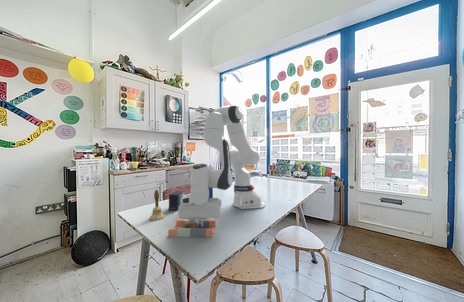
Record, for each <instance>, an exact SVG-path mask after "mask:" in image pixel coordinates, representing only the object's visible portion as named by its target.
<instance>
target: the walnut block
mask: <svg viewBox="0 0 464 302" xmlns="http://www.w3.org/2000/svg"><path fill="white" fill-rule="evenodd" d="M188 219H189V220H188V221H187V222H186V223H185V227H184V228H200V227H197V223H196V222H195V220H194V218H188ZM198 221H199V220H198Z"/></svg>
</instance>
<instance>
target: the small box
mask: <svg viewBox="0 0 464 302" xmlns="http://www.w3.org/2000/svg"><path fill="white" fill-rule="evenodd" d="M185 195H186V191H184V190H175V191H173V192H171V193H169V194H168V211H175V212H177V211H178V210H179V205H180V204H181V202H180V200H181V198H182V197H183V196H185Z"/></svg>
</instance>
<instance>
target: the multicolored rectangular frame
mask: <svg viewBox="0 0 464 302" xmlns="http://www.w3.org/2000/svg"><path fill="white" fill-rule="evenodd" d="M189 219H190V218H177V219H176V221H175V226H174V227H170V228H168V231H167V232H168V233H167V234H168V237H176V238H177V237H182V238H184V237H187V238H188V237H191V238H193V237H194V238H213V235H214V232H215V228H216V224H217V223H216V219H217V218H205V220H204V222H203V227H199V228H185V223H186V222H187V221H188V220H189ZM198 220H199V222H202V221H203V220H202V218H198ZM205 227H206V228H205Z"/></svg>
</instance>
